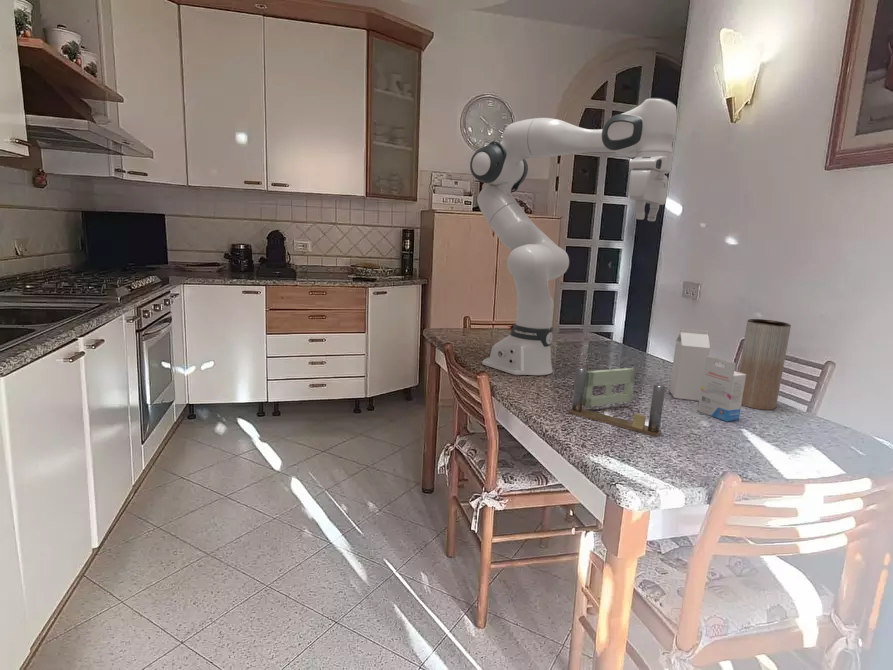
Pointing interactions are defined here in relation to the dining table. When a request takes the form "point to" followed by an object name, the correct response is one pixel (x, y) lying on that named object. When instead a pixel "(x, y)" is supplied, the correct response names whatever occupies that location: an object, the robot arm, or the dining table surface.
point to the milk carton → (689, 364)
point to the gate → (608, 386)
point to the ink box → (721, 390)
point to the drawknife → (636, 425)
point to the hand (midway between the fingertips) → (645, 220)
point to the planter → (763, 362)
